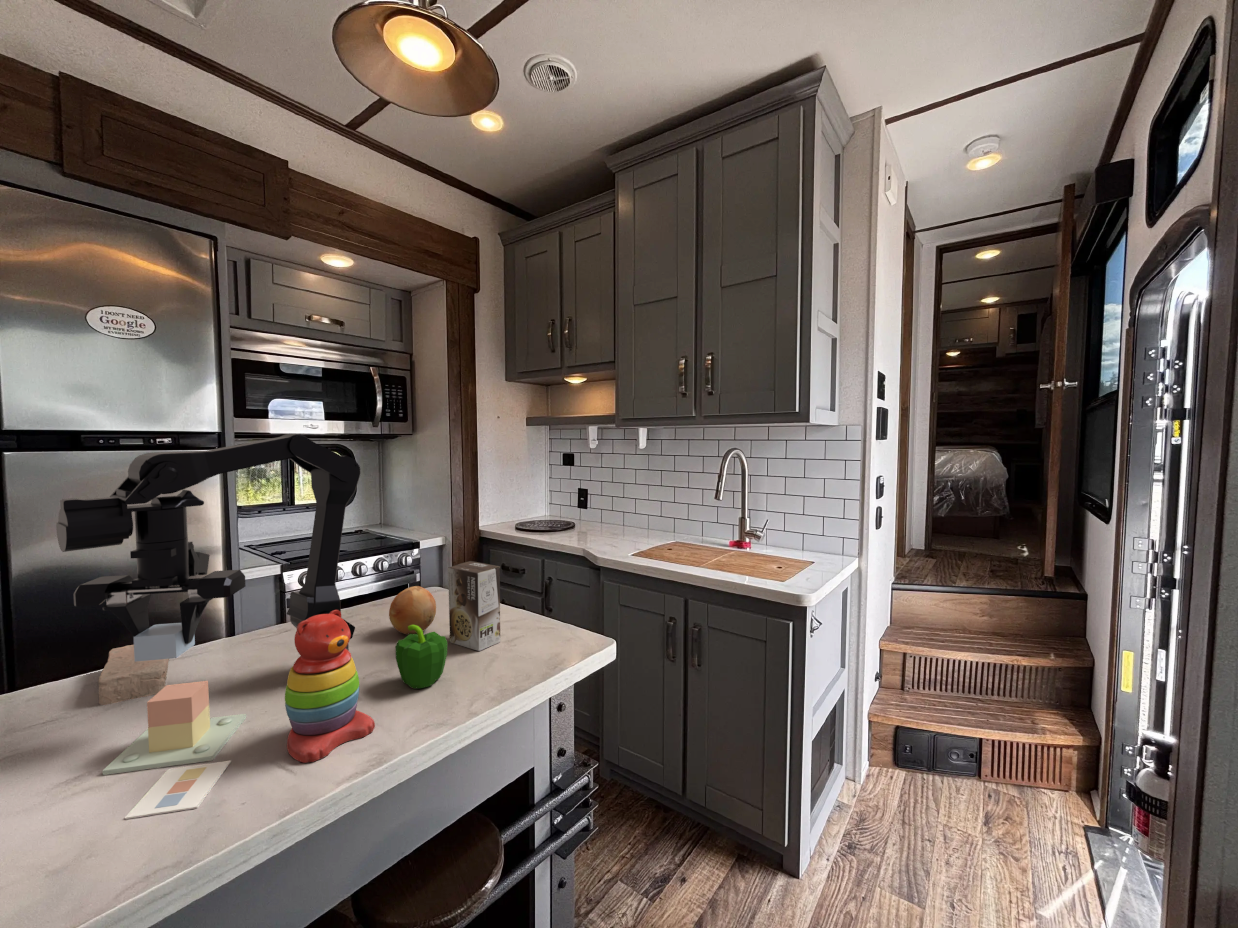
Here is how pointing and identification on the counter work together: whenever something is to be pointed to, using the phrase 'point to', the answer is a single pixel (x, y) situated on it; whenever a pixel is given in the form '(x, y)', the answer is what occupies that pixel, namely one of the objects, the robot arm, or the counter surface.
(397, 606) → the onion
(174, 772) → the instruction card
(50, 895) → the counter surface
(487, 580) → the coffee box
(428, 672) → the bell pepper
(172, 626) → the brick slate
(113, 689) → the brick
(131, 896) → the counter surface
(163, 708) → the brick terracotta
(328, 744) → the stacking bear
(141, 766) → the plate
